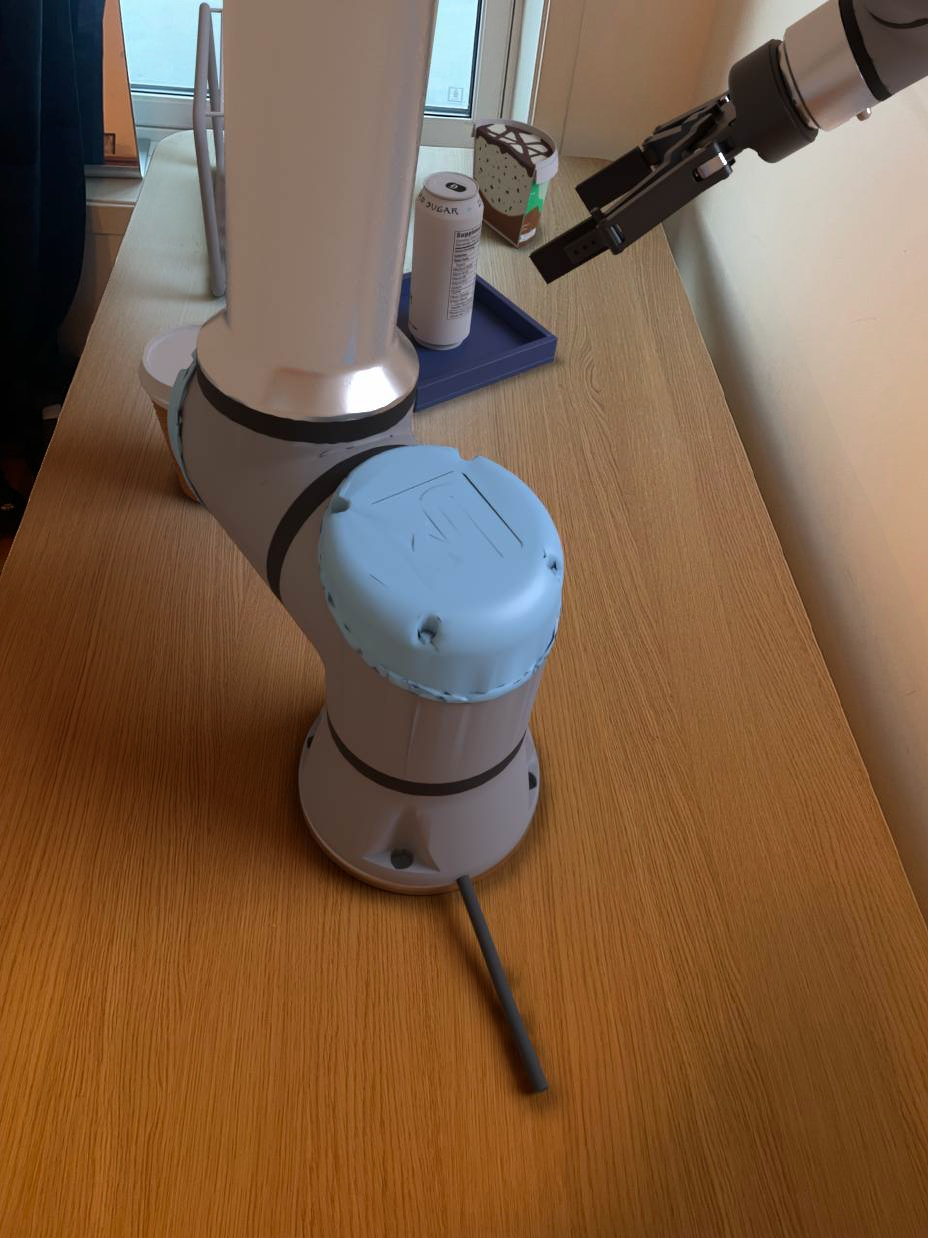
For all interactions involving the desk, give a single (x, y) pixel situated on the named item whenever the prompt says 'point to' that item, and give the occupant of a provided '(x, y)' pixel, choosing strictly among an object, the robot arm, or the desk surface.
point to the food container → (512, 175)
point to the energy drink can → (444, 259)
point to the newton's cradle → (211, 211)
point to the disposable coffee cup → (168, 374)
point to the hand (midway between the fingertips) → (562, 232)
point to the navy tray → (478, 347)
